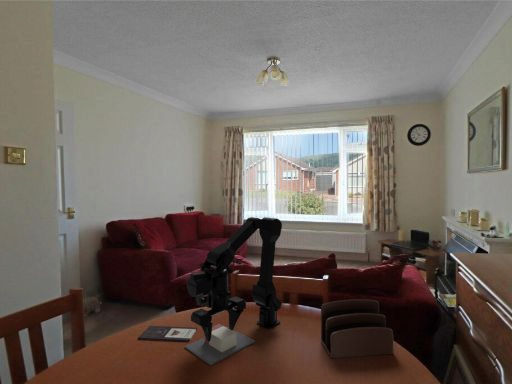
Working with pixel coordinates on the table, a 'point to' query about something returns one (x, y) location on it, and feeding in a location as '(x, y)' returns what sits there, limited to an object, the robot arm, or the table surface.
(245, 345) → the mat
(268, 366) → the table surface
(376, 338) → the letter holder
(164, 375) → the table surface
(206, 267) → the robot arm
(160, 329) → the chocolate bar
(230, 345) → the card box
